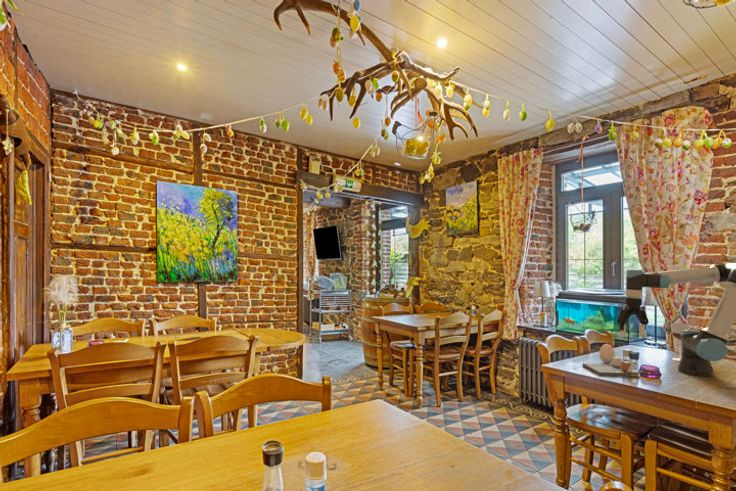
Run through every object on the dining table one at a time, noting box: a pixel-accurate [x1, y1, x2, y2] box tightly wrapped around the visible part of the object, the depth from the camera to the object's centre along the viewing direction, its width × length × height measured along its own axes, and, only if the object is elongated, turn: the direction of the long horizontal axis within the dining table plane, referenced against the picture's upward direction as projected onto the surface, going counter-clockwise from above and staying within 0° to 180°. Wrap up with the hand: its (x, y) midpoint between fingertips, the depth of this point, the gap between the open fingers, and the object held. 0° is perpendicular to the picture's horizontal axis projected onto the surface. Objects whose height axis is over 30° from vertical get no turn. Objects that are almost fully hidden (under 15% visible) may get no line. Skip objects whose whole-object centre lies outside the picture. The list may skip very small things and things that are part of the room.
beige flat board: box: [582, 362, 638, 378], centre depth 217 cm, size 20×18×2 cm
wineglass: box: [670, 322, 690, 362], centre depth 244 cm, size 9×10×22 cm
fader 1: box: [611, 356, 623, 366], centre depth 221 cm, size 3×4×4 cm
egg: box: [598, 343, 616, 364], centre depth 234 cm, size 8×8×11 cm
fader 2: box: [621, 360, 632, 371], centre depth 212 cm, size 3×4×4 cm
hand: (632, 336), depth 215 cm, fingers open, 13 cm apart
